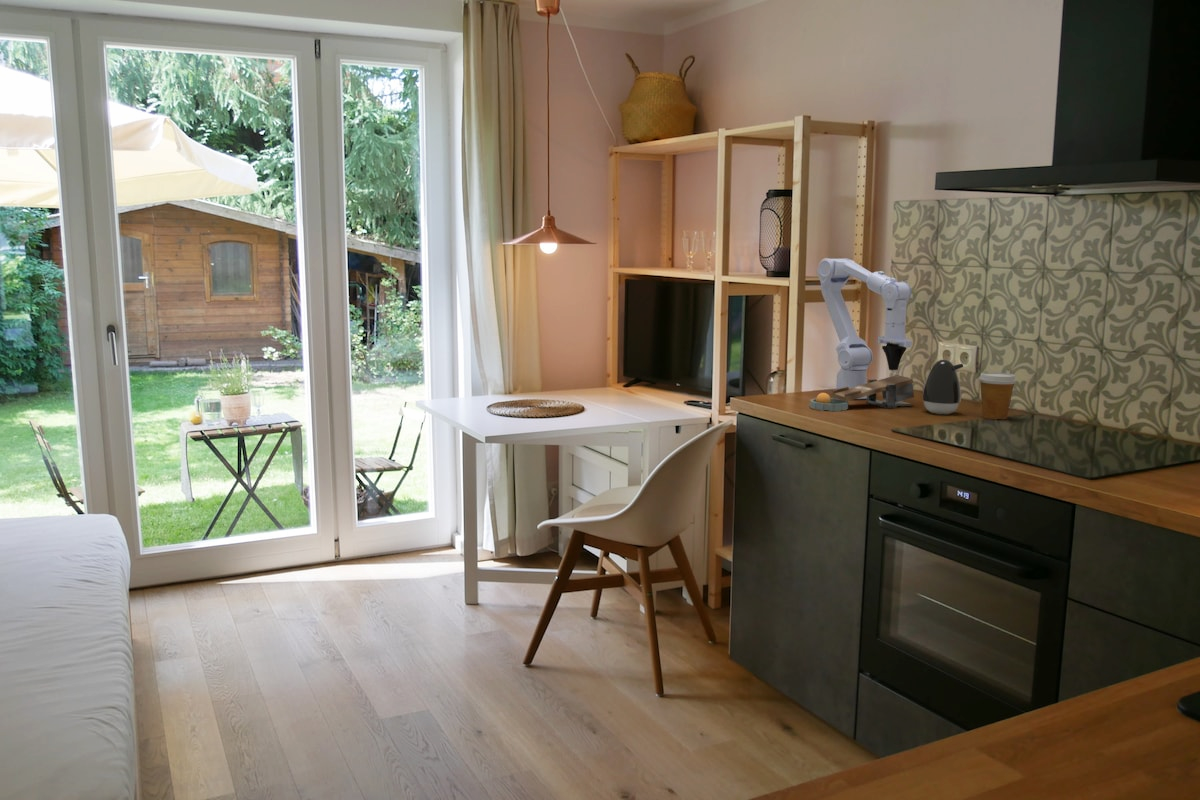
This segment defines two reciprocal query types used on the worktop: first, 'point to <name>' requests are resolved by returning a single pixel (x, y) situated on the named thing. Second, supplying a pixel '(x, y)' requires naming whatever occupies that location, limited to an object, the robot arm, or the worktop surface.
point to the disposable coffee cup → (996, 394)
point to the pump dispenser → (942, 388)
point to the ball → (823, 398)
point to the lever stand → (889, 397)
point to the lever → (878, 389)
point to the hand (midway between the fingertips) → (893, 369)
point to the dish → (830, 405)
